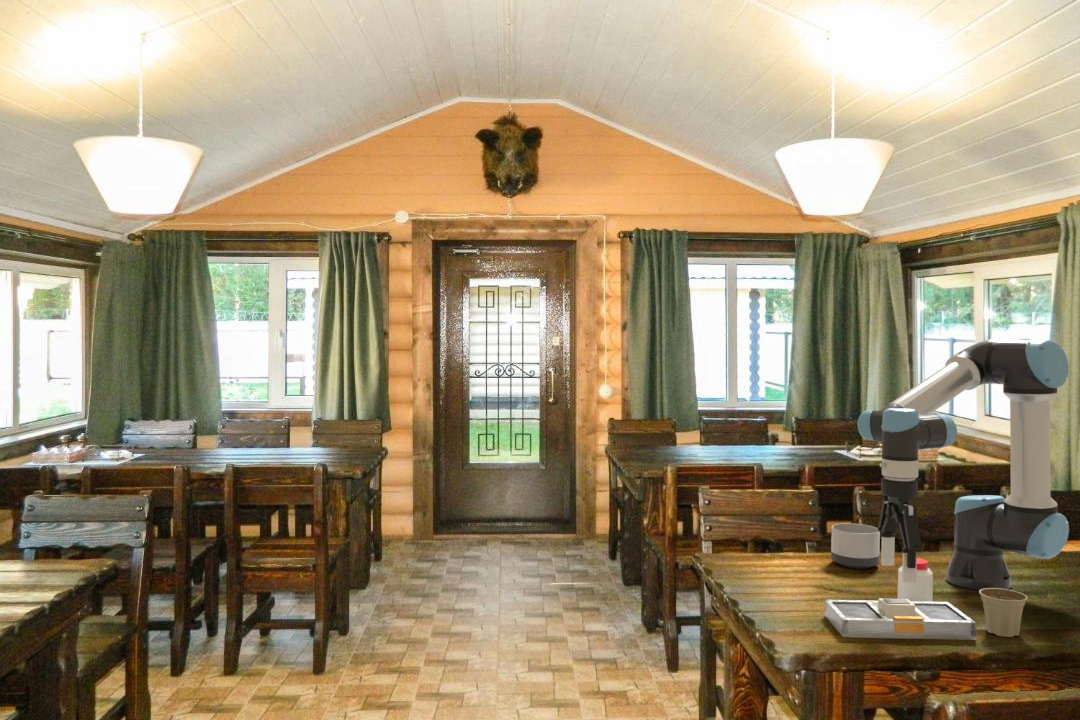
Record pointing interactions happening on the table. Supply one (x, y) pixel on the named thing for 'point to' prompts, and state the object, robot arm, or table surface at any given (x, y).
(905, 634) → the tray
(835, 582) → the table surface
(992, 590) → the flower pot
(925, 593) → the pill bottle
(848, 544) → the planter
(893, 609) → the white block
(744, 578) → the table surface
